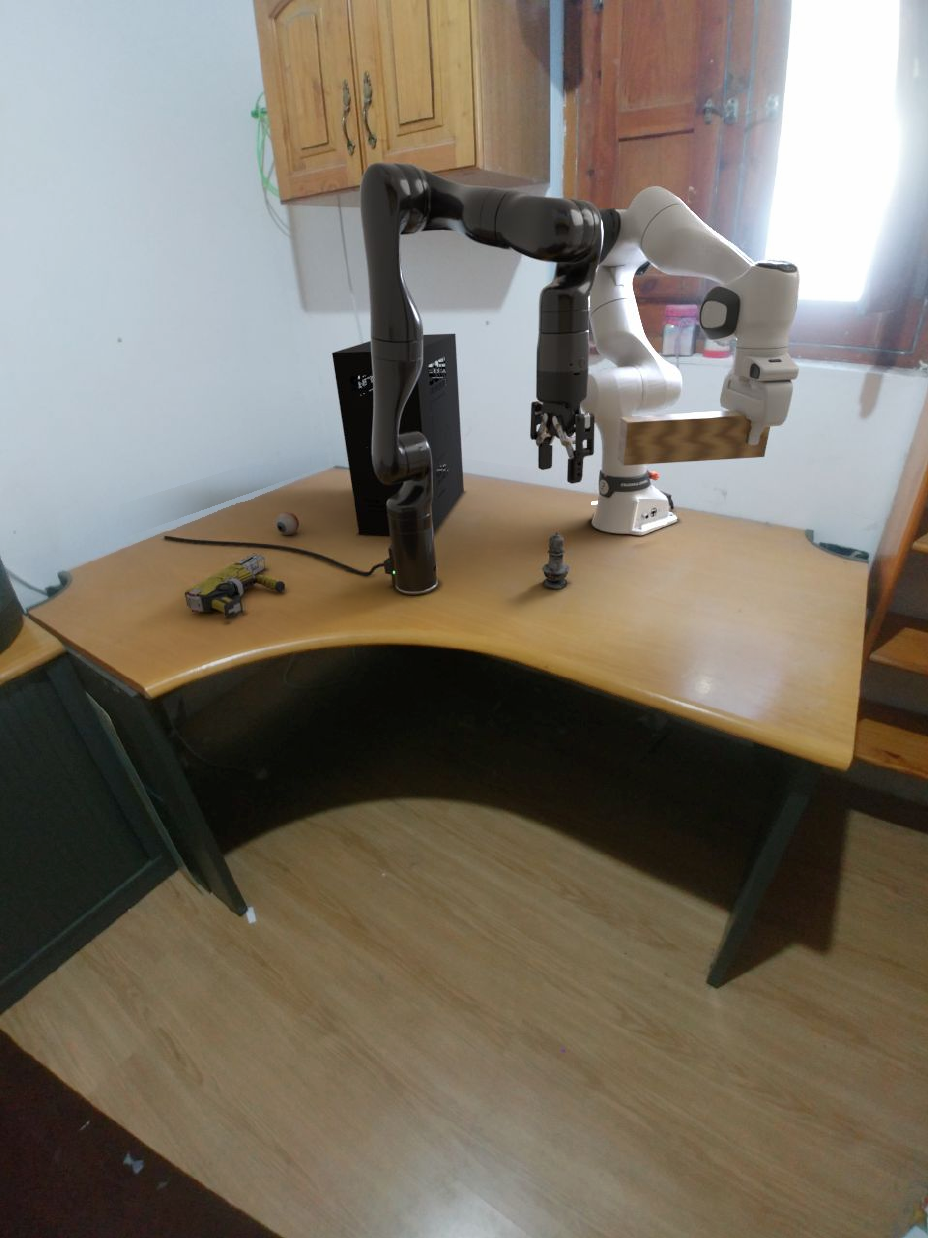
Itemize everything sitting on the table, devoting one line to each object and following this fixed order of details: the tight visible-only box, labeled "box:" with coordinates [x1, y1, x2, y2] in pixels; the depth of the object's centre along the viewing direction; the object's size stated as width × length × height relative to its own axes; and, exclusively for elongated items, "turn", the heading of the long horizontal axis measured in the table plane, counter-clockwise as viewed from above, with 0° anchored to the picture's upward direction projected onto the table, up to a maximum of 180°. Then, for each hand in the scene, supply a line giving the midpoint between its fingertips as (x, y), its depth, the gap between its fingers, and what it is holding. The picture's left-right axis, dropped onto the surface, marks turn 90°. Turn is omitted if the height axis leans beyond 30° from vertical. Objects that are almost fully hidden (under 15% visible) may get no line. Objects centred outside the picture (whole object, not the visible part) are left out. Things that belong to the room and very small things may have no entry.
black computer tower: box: [331, 333, 465, 536], centre depth 165 cm, size 38×20×45 cm, turn 167°
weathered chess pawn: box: [541, 530, 570, 589], centre depth 128 cm, size 6×6×12 cm
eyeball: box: [275, 511, 300, 536], centre depth 163 cm, size 6×6×6 cm
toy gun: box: [184, 552, 286, 620], centre depth 134 cm, size 5×24×15 cm
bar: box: [618, 410, 771, 466], centre depth 116 cm, size 27×5×8 cm, turn 92°
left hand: (559, 475), depth 96 cm, fingers open, 8 cm apart
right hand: (744, 440), depth 117 cm, fingers closed on bar, 5 cm apart
